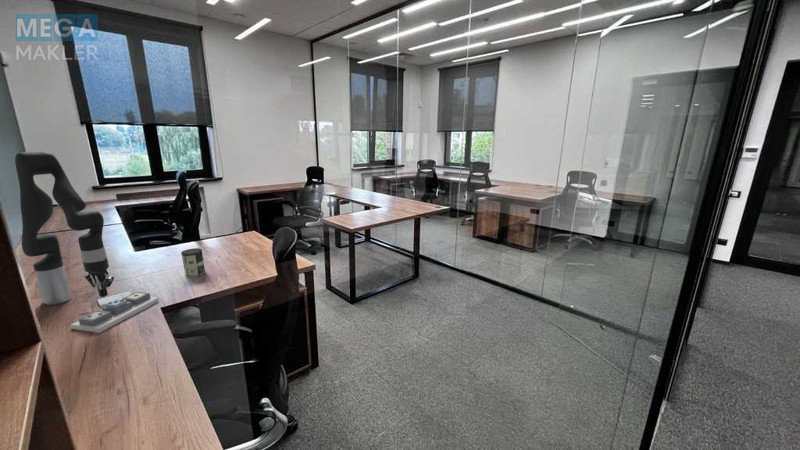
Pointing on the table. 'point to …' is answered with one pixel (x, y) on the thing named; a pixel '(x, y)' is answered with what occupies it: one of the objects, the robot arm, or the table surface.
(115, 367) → the table surface
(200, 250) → the coffee can
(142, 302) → the button panel
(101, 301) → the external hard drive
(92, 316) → the button two
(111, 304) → the button three
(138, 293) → the button one
